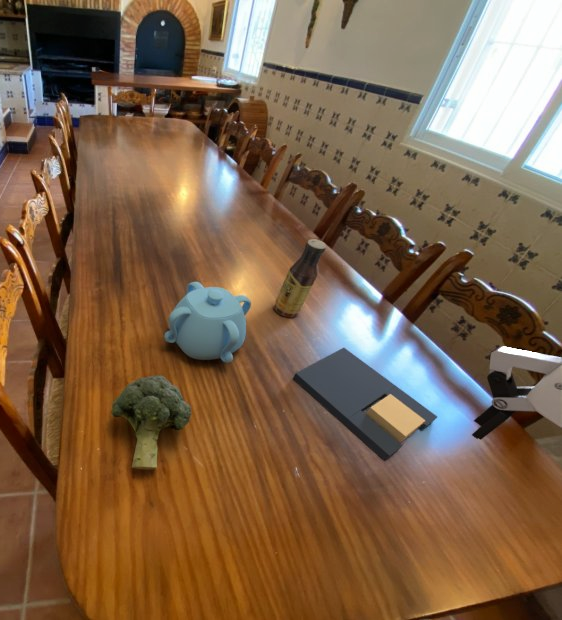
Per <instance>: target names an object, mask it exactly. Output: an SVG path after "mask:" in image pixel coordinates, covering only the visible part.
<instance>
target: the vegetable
mask: <svg viewBox="0 0 562 620" xmlns="http://www.w3.org/2000/svg"><path fill="white" fill-rule="evenodd" d="M110 413H111V415H112V417H113V418H114V419H118V418H120V417H123V418H124V419H125V420H127V421H128V422H129V424H130V425H131V426H132V428H133V429H134V435H135V437H136V439H137V440H136V445H135V449H134V454H133V458H132V464H131V468H132V469H139V470H156V469H158V450H159V449H158V439H159V434H160V431H161V430H162V429H164V428H166V427H167V428H168V429H170V430H174V431H177V432H179V431H182V430H184V427H186V426H187V425H188V423H190V420H191V416H192V407H191V405H190V404H188V402H187V401H185V400H184V397H183V396H182V393H181V390H180V388H179V387H178V386H176V385H173V384H172V383H171V381H169V380H168V379H167V378H166V377H165V376H163V375H161V374H158V375H157V374H155V375H151V376H149V375H147V376H146V377H139V378H136V379H135V381H133V382H130V383H128V384H127V385H126V386H125V388H124V389H123V390H121V393H120V395H118V396H117V397H116V398H115V400H114V401H113V402H112V405H111V411H110Z"/></svg>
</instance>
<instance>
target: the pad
mask: <svg viewBox="0 0 562 620" xmlns="http://www.w3.org/2000/svg"><path fill="white" fill-rule="evenodd" d="M365 414H366V415H367V416H368V417H370V418H371V419H372V420H373V421H374V422H376V423H377V424H378V425H379V426H380V427H382V428H383V429H384V430H385V431H386V432H387V433H389V434H390V435H391V436H392V437H393V438H395V439H396V440H397V441H398V442H399V443H401V444H402V442H403V441H405V440H406V439H407V438H408V437H409V436H411V435H412V434H413V433H414V432H416V431H417V430H419V429H418V428H419V427H420V426H421V425H422V424H423V423H424V422H425V420H424V419H423V418H421V417H420V416H419V415H417V414H416V413H415V412H414V411H412V410H411V409H410V408H408V407H407V406H406V405H404V404H403V403H402V402H400V401H399V400H398V399H396V398H395V397H394V396H393V395H391V394H390V395H388V396H387V397H385V398H384V399H382V400H381V399H380V400H378V401H377V402H375V403H374V404H372V405H371V406H370V407H369V409H368V410H367V411H366V412H365Z"/></svg>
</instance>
